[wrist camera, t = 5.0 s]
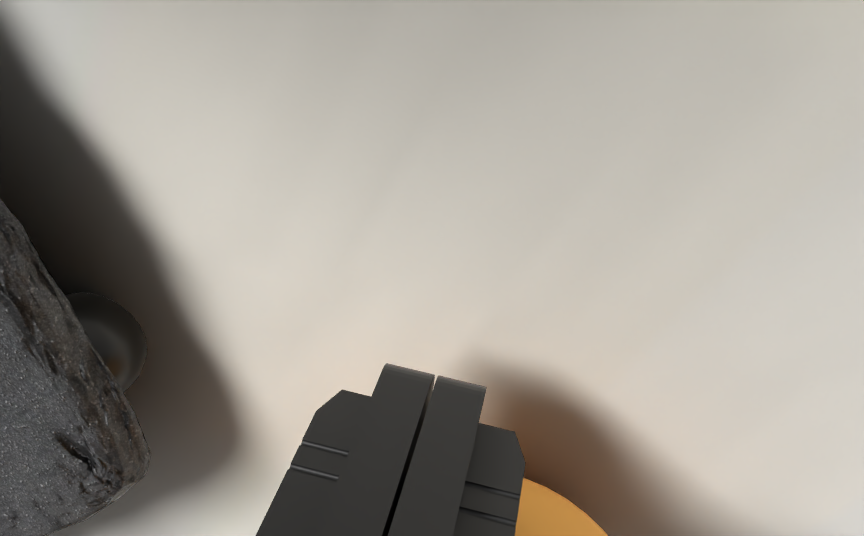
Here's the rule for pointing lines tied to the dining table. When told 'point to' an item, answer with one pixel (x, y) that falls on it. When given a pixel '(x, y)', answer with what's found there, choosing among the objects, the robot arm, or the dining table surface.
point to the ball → (551, 514)
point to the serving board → (62, 395)
